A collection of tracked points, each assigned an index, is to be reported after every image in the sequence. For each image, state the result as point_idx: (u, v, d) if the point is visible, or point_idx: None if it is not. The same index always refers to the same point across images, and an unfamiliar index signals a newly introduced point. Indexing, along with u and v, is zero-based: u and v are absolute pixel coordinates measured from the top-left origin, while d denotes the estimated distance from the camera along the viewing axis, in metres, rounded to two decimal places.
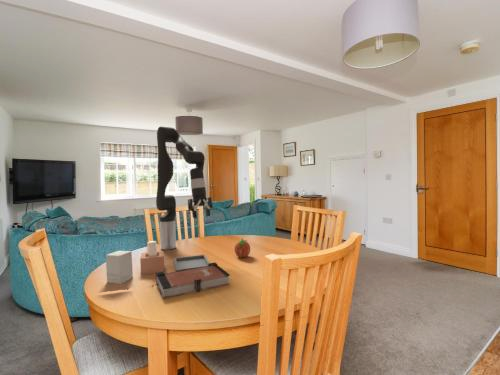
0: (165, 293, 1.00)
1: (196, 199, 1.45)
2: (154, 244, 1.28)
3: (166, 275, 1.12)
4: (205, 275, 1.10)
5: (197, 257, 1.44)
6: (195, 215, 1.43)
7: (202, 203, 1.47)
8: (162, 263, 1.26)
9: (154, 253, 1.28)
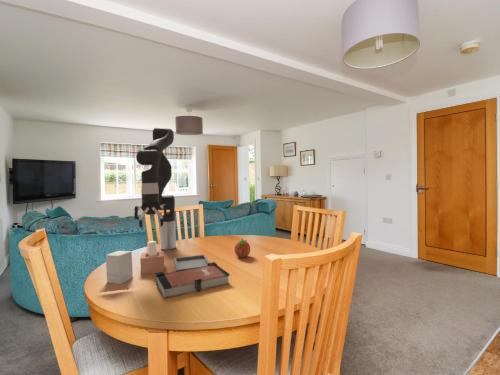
0: (166, 293, 1.00)
1: (143, 207, 1.26)
2: (154, 244, 1.28)
3: (166, 275, 1.12)
4: (205, 275, 1.11)
5: (197, 257, 1.44)
6: (140, 225, 1.26)
7: (152, 211, 1.27)
8: (162, 263, 1.26)
9: (154, 253, 1.28)
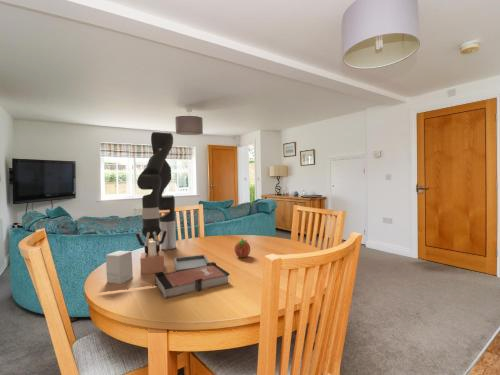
0: (166, 293, 1.00)
1: (144, 231, 1.26)
2: (154, 244, 1.28)
3: (166, 275, 1.12)
4: (205, 275, 1.11)
5: (197, 257, 1.44)
6: (146, 251, 1.27)
7: (151, 235, 1.27)
8: (162, 263, 1.26)
9: (154, 253, 1.28)
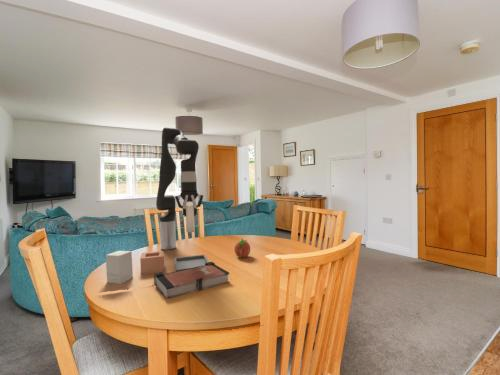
0: (168, 293, 1.00)
1: (183, 194, 1.31)
2: (192, 207, 1.32)
3: (165, 275, 1.11)
4: (205, 274, 1.12)
5: (197, 257, 1.44)
6: (184, 213, 1.32)
7: (189, 198, 1.32)
8: (162, 263, 1.26)
9: (192, 216, 1.32)
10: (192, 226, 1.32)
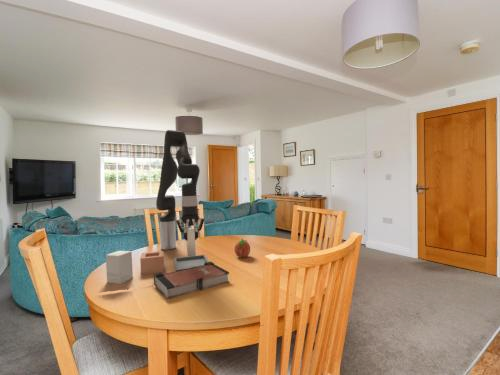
0: (168, 293, 1.00)
1: (184, 218, 1.32)
2: (193, 231, 1.33)
3: (165, 275, 1.11)
4: (205, 274, 1.12)
5: (197, 257, 1.44)
6: (185, 237, 1.32)
7: (190, 222, 1.33)
8: (162, 263, 1.26)
9: (193, 239, 1.33)
10: (193, 250, 1.33)
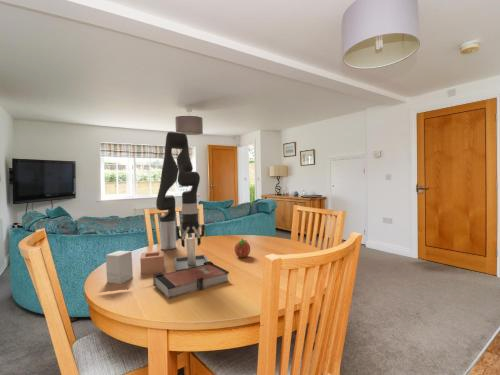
0: (169, 293, 1.00)
1: (184, 226, 1.32)
2: (193, 240, 1.33)
3: (165, 276, 1.11)
4: (205, 274, 1.12)
5: (197, 257, 1.44)
6: (183, 244, 1.32)
7: (191, 230, 1.33)
8: (162, 263, 1.26)
9: (193, 249, 1.33)
10: (193, 259, 1.33)
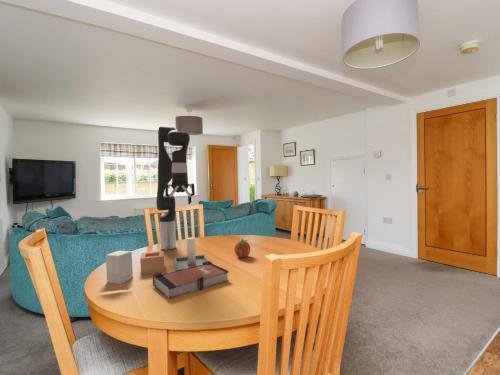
0: (170, 293, 1.00)
1: (174, 185, 1.34)
2: (193, 240, 1.33)
3: (165, 276, 1.11)
4: (205, 273, 1.13)
5: (197, 257, 1.44)
6: (170, 202, 1.35)
7: (181, 189, 1.36)
8: (162, 263, 1.26)
9: (193, 249, 1.33)
10: (193, 259, 1.33)
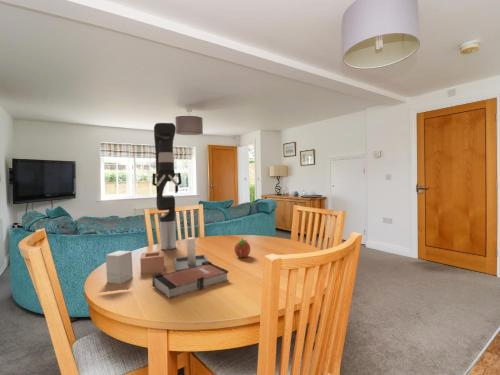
0: (170, 293, 1.00)
1: (160, 174, 1.38)
2: (193, 240, 1.33)
3: (164, 276, 1.11)
4: (204, 273, 1.13)
5: (197, 257, 1.44)
6: (157, 190, 1.38)
7: (168, 179, 1.40)
8: (162, 263, 1.26)
9: (193, 249, 1.33)
10: (193, 259, 1.33)
